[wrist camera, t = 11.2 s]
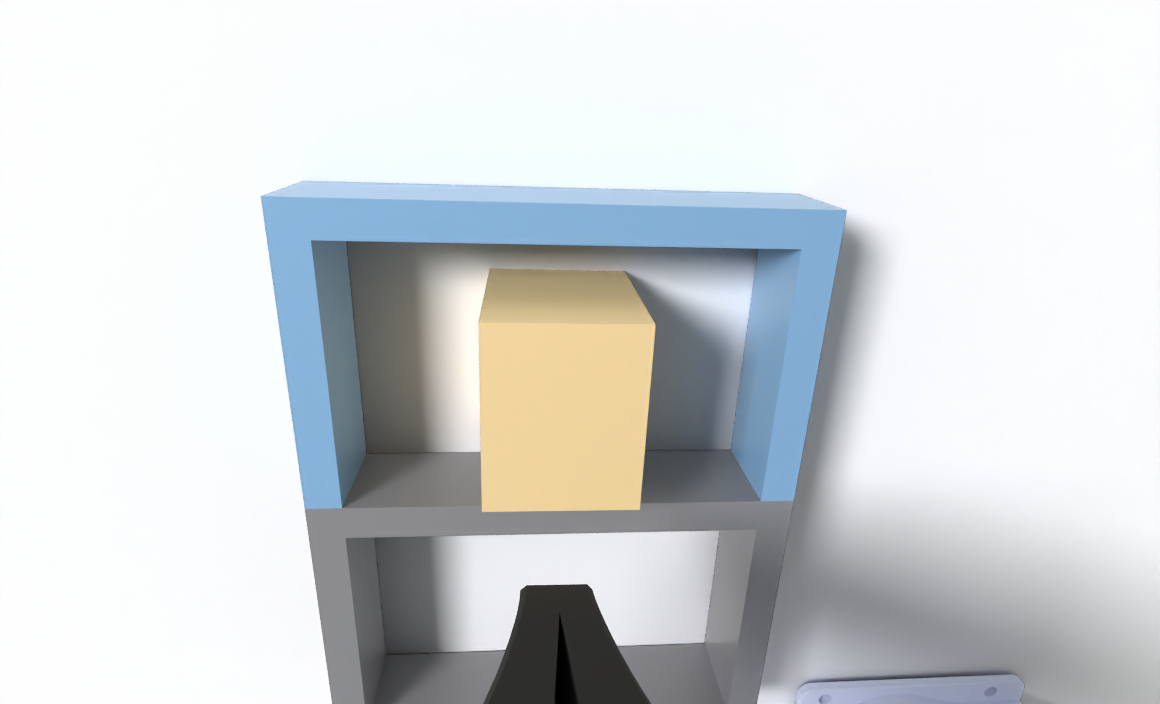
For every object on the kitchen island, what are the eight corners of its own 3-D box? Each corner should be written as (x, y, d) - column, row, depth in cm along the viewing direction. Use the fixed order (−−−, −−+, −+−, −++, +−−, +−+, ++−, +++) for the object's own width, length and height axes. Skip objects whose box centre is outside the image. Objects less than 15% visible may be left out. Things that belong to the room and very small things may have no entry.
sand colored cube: (624, 270, 19) (655, 324, 15) (614, 419, 21) (639, 509, 16) (489, 268, 19) (478, 322, 14) (491, 420, 21) (482, 511, 16)
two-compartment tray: (799, 194, 19) (847, 210, 16) (726, 662, 25) (751, 731, 23) (302, 181, 18) (261, 196, 15) (360, 676, 24) (338, 751, 21)
